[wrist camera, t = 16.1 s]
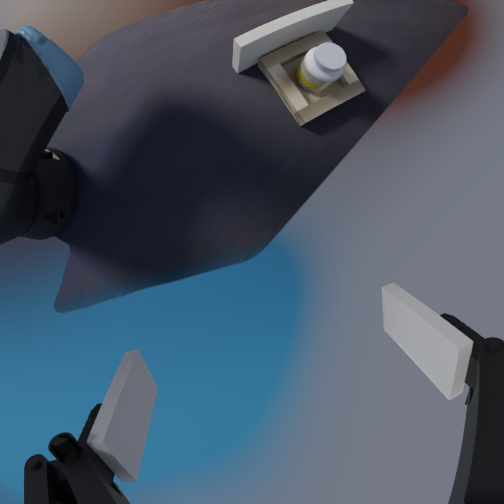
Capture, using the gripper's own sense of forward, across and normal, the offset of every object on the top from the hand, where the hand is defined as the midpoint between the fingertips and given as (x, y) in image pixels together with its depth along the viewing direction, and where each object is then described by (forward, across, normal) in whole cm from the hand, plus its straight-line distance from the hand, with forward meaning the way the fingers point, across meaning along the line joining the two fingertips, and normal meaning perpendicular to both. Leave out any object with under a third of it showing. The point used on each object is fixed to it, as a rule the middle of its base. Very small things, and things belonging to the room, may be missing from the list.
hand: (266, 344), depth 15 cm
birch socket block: (+31, +16, +20) cm, 41 cm away
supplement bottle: (+31, +16, +20) cm, 41 cm away
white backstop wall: (+32, +14, +27) cm, 44 cm away
